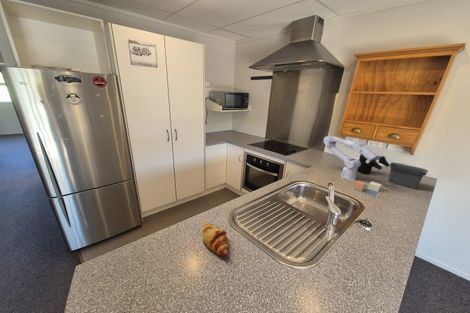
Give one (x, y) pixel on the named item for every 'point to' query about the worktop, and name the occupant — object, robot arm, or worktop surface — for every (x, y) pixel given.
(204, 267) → the worktop surface
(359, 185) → the terracotta block
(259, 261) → the worktop surface
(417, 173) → the storage bin
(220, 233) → the croissant
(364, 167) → the coffee jar
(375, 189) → the board
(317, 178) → the worktop surface
